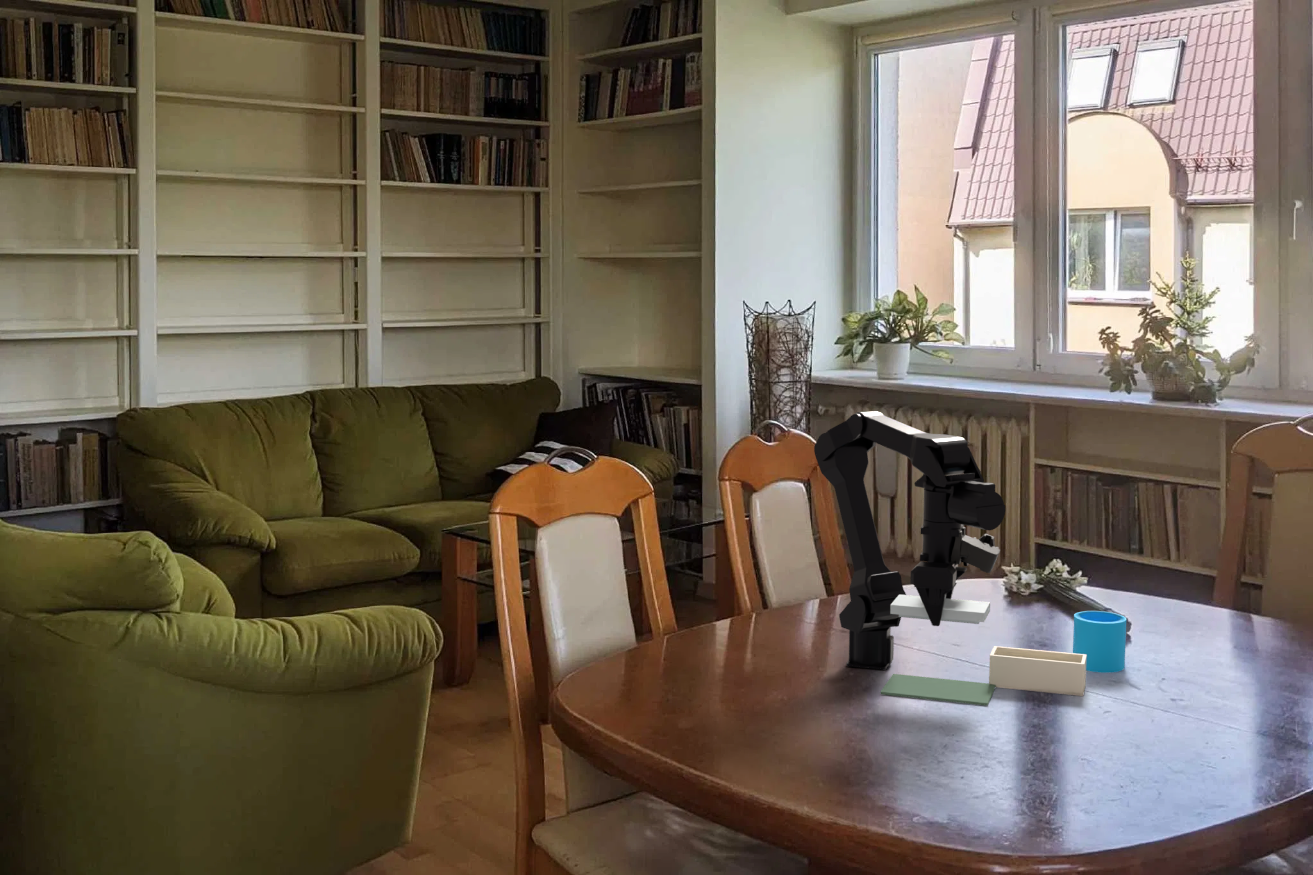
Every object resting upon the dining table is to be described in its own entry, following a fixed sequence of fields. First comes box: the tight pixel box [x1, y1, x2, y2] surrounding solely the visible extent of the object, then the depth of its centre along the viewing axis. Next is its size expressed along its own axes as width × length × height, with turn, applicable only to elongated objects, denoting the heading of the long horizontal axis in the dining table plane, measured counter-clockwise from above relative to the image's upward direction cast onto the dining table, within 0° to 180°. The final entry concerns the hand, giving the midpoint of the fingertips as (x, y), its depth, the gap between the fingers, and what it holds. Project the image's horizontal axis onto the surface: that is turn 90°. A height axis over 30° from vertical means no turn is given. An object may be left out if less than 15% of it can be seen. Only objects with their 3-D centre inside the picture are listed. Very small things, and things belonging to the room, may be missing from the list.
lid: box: [890, 594, 991, 625], centre depth 205 cm, size 14×7×2 cm, turn 69°
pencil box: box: [988, 645, 1087, 697], centre depth 208 cm, size 14×6×5 cm, turn 69°
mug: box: [1072, 610, 1127, 674], centre depth 221 cm, size 12×8×8 cm
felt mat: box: [880, 673, 997, 707], centre depth 207 cm, size 16×10×1 cm, turn 69°
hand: (939, 619), depth 205 cm, fingers closed on lid, 7 cm apart
